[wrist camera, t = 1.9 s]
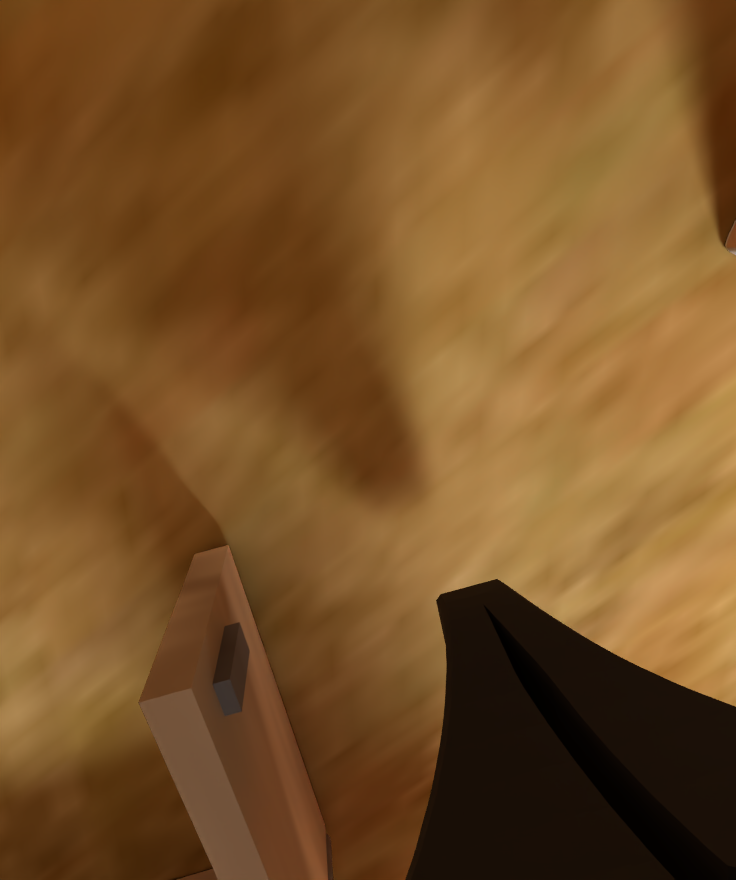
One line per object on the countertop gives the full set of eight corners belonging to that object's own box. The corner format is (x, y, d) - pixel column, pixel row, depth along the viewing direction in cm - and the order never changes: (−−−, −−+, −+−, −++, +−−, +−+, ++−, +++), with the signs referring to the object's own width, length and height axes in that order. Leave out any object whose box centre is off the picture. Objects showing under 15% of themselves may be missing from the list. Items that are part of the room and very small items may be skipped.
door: (303, 855, 15) (306, 1081, 11) (192, 554, 12) (135, 704, 8) (342, 843, 16) (359, 1064, 11) (241, 542, 12) (211, 682, 8)
